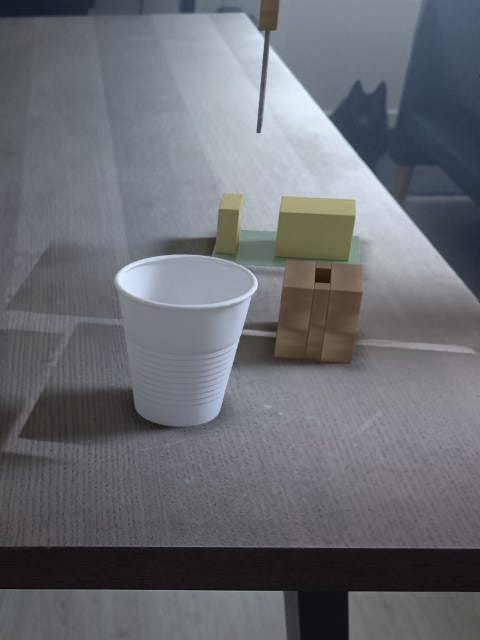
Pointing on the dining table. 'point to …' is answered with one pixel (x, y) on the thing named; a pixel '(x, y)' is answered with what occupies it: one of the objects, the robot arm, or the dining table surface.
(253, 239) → the board
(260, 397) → the dining table surface
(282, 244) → the butter block
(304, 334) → the knife holder
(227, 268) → the cup
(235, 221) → the butter pat
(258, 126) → the knife
